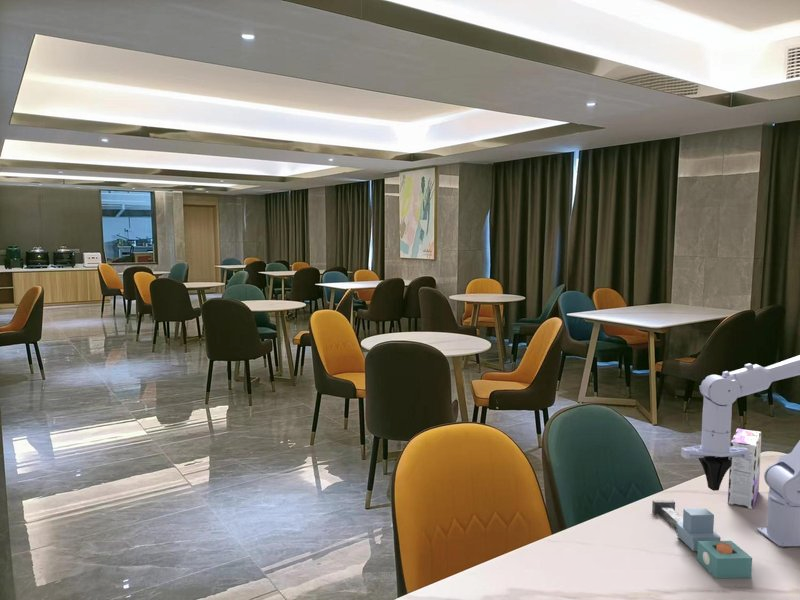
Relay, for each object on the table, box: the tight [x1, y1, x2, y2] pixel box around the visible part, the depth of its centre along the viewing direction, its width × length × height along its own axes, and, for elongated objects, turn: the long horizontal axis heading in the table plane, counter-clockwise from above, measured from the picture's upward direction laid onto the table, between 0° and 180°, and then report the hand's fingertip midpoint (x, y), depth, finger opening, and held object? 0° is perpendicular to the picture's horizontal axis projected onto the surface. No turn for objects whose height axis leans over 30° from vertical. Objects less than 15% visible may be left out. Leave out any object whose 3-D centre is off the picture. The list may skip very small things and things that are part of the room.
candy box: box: [727, 428, 762, 510], centre depth 155 cm, size 14×6×16 cm, turn 144°
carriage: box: [676, 508, 721, 552], centre depth 131 cm, size 6×7×7 cm
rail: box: [651, 499, 683, 531], centre depth 136 cm, size 5×21×3 cm, turn 2°
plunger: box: [716, 543, 732, 554], centre depth 121 cm, size 3×3×4 cm
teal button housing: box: [696, 540, 753, 579], centre depth 121 cm, size 7×7×4 cm
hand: (713, 488), depth 135 cm, fingers closed
